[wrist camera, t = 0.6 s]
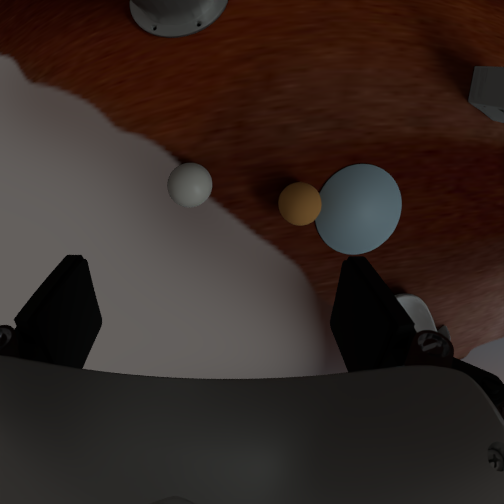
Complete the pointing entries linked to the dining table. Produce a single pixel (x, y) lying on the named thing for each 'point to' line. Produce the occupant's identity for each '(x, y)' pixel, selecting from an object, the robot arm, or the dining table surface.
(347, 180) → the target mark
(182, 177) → the cue ball
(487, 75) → the supplement box
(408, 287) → the dining table surface
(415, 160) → the dining table surface
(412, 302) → the spoon rest
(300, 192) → the orange ball
